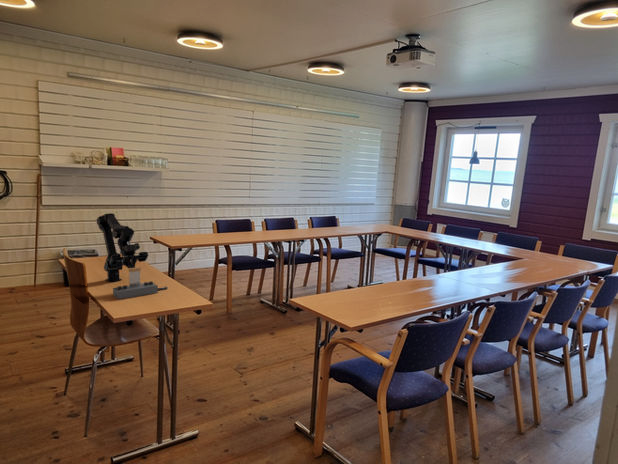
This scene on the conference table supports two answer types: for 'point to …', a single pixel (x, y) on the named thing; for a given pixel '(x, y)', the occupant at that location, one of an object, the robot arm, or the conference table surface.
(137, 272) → the lever
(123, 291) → the breaker box
